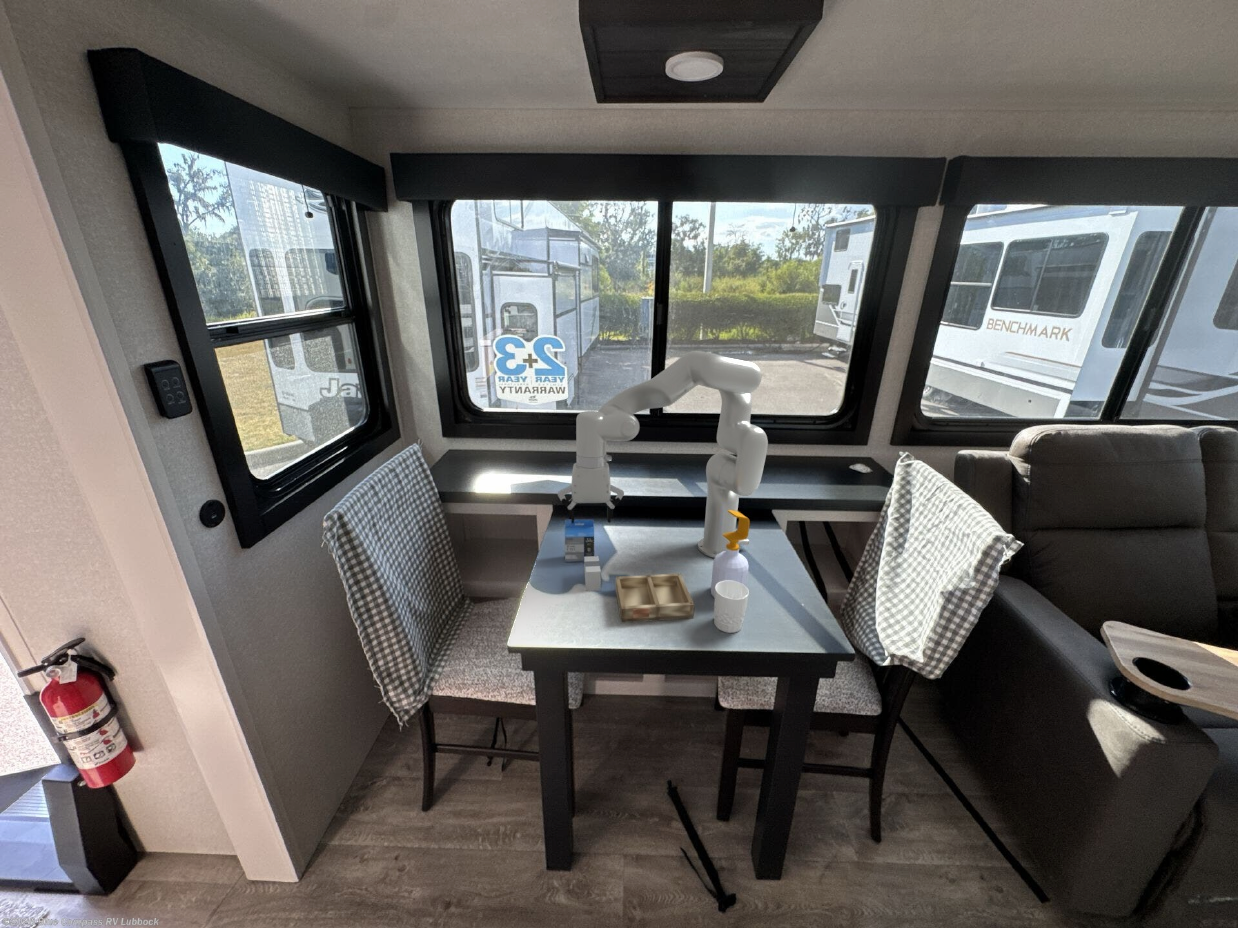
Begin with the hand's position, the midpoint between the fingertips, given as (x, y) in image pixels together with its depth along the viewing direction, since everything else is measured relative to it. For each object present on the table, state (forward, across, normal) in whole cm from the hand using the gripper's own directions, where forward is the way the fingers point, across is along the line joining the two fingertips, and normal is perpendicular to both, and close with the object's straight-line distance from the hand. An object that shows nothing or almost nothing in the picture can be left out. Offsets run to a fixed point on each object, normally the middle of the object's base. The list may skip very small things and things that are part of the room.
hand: (590, 520), depth 126 cm
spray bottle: (+19, -37, +9) cm, 42 cm away
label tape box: (+19, +3, -12) cm, 23 cm away
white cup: (+19, -33, +21) cm, 43 cm away
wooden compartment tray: (+19, -16, +11) cm, 27 cm away
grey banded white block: (+19, 0, 0) cm, 19 cm away
